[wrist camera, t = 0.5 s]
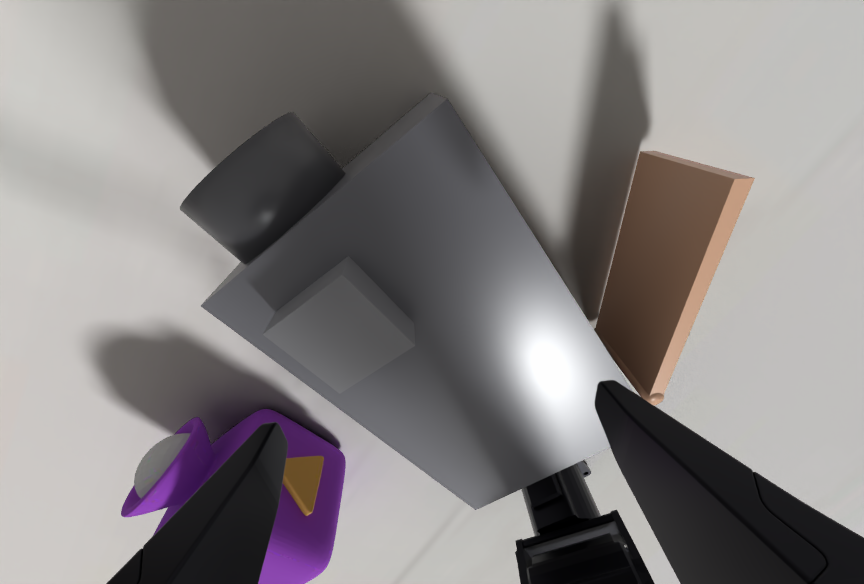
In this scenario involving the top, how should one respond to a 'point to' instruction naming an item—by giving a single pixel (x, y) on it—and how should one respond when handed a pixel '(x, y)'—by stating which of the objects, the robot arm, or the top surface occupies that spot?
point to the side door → (665, 263)
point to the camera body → (409, 298)
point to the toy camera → (299, 501)
